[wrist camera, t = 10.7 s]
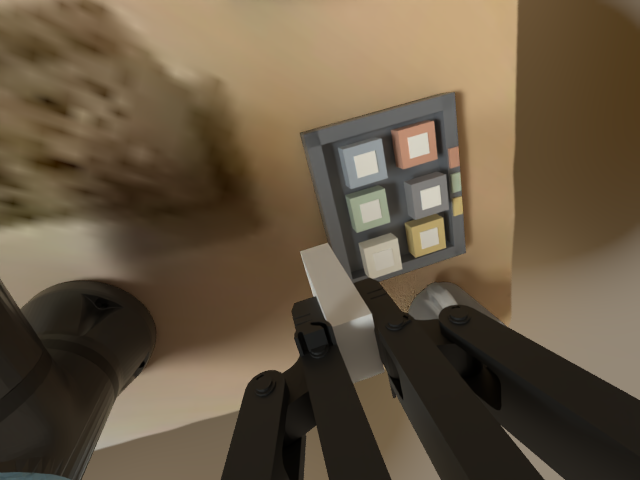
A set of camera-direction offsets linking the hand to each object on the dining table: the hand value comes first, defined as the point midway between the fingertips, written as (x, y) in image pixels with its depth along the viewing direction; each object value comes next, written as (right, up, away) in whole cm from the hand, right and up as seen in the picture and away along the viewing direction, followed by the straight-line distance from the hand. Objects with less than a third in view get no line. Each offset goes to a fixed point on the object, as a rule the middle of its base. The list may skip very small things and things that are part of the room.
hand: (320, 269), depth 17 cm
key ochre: (+14, +3, +27) cm, 31 cm away
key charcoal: (+13, +7, +23) cm, 28 cm away
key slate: (+5, +11, +20) cm, 23 cm away
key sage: (+6, +6, +24) cm, 26 cm away
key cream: (+7, 0, +25) cm, 26 cm away
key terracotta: (+11, +13, +23) cm, 28 cm away
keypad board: (+9, +7, +26) cm, 28 cm away
